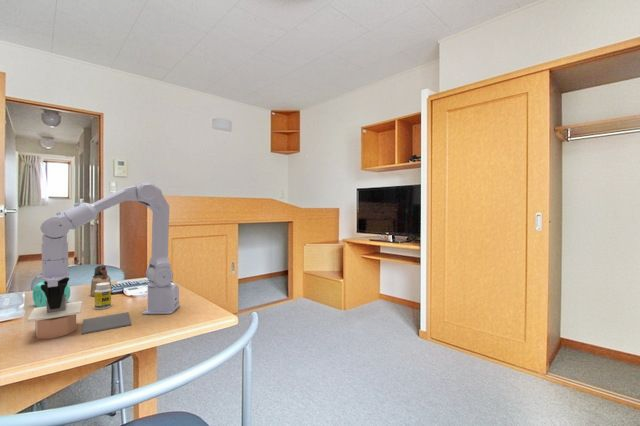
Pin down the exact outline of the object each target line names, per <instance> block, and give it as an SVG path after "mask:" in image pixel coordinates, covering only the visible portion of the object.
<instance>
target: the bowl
mask: <svg viewBox="0 0 640 426" xmlns="http://www.w3.org/2000/svg"><path fill="white" fill-rule="evenodd" d="M34 322H35V325H34V326H35V337H36V338H37V340H38V339H39V340H41V339H42V340H43V339H44V340H45V339H51V340H52V339H55V338H60V337H62V336H66V335H69V334H71V333H74V331H76V330H77V314H74V315H68V316H62V317H56V318H50V319H44V320H38V321H34Z"/></svg>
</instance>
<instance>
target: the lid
mask: <svg viewBox="0 0 640 426" xmlns="http://www.w3.org/2000/svg"><path fill="white" fill-rule="evenodd" d="M46 303H47V306H45V307H34V308H33V310H32V311H31V313H30V315H29V316H28V318H27V323H31V322H32V323H33V322H35V321H38V320H44V319H50V318H56V317H62V316H68V315H74V314H76V315H80V314H81V312H82V306H83V301H82V300H79V301H74V302H73V301H72V302H68V301H66V295H63V296H62V302H61V306H60V308H58V309H51V310H50V308H49V305H48V301H46Z"/></svg>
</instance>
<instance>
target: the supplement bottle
mask: <svg viewBox="0 0 640 426" xmlns="http://www.w3.org/2000/svg"><path fill="white" fill-rule="evenodd" d="M109 287H110V283H99V284H96V290H95V297H94V308H95V310H105V309H108V308H111V306H112V294H111V289H110V288H109Z"/></svg>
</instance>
